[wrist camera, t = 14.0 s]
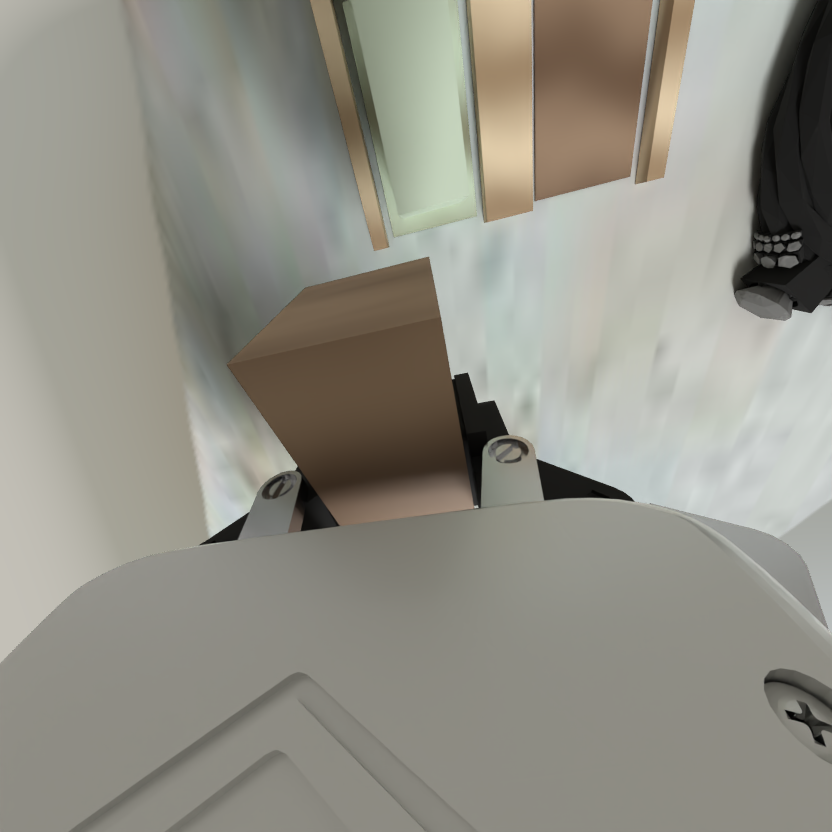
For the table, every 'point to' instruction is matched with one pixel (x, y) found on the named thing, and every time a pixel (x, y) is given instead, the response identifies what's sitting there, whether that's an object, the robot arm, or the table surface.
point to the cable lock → (796, 186)
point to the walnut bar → (364, 395)
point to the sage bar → (415, 100)
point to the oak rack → (512, 101)
